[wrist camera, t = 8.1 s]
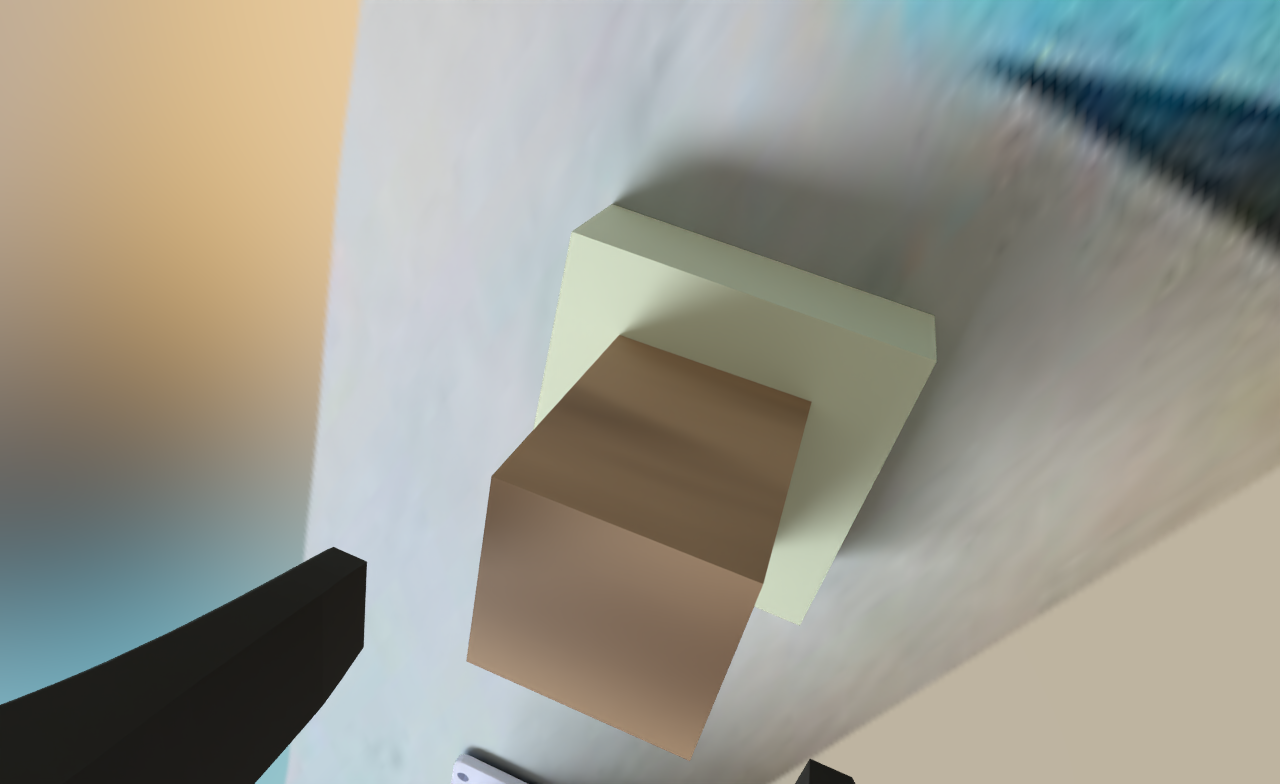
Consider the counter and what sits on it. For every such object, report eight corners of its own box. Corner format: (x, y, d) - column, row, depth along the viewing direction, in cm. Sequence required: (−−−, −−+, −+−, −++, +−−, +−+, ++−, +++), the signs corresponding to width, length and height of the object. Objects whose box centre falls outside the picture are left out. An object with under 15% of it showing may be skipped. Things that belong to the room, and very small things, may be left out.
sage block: (813, 552, 22) (799, 625, 19) (562, 450, 23) (518, 506, 20) (933, 307, 17) (936, 361, 15) (618, 199, 19) (571, 231, 16)
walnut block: (752, 552, 18) (689, 761, 13) (585, 487, 19) (466, 660, 14) (811, 402, 16) (763, 584, 11) (619, 334, 17) (491, 476, 12)
